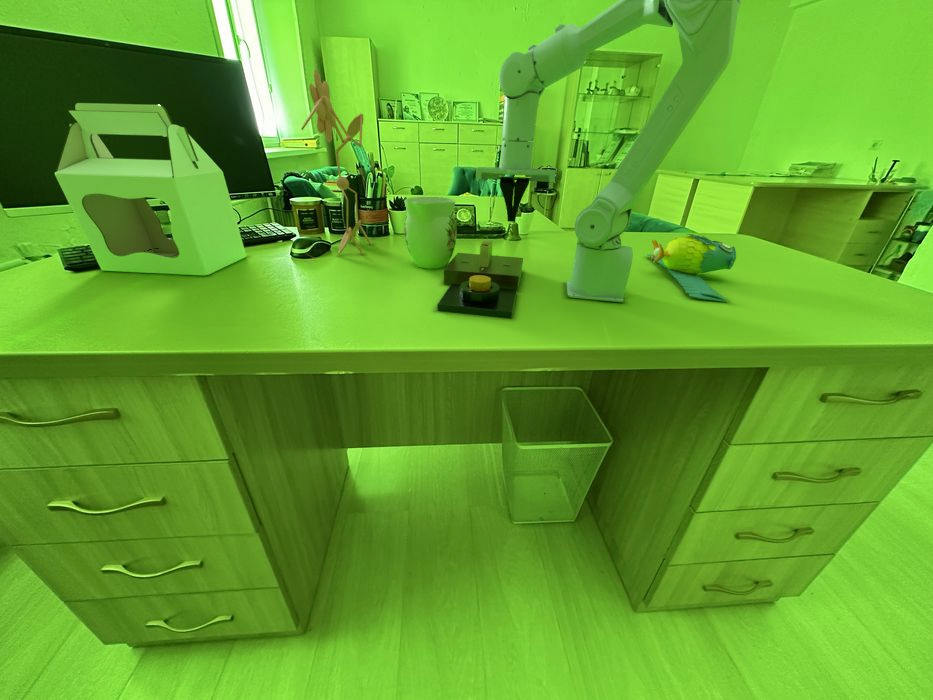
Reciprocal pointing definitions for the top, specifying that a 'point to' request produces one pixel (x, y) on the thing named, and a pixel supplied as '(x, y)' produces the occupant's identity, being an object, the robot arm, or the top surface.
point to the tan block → (486, 252)
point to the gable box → (147, 195)
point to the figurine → (324, 124)
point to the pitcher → (430, 230)
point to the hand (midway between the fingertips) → (511, 220)
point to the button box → (479, 300)
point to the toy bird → (695, 262)
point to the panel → (484, 270)
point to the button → (480, 283)
